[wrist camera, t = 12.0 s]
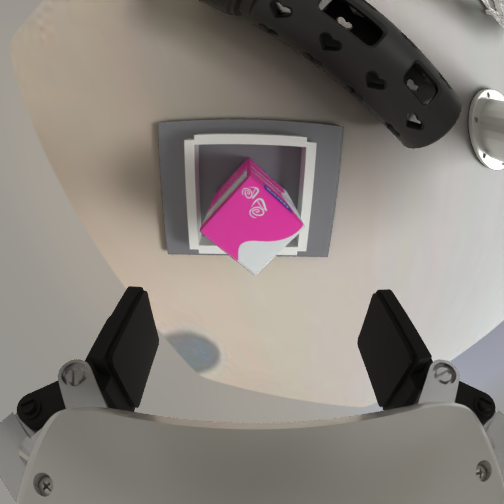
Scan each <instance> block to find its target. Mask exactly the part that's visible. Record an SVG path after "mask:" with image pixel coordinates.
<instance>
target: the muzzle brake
mask: <svg viewBox="0 0 504 504" xmlns="http://www.w3.org/2000/svg"><path fill="white" fill-rule="evenodd" d="M199 1H201V2H204V3H206V4H208V5H210V6H213V7H215V8H217V9H219V10H221V11H223V12H225V13H227V14H230V15H234V14H235V15H241V14H245V15H247V16H249V19H250V22H251V23H252V24H254V25H256V26H257V27H259V28H261V29H263V30H264V31H266V32H268V33H269V34H271V35H273V36H274V37H276V38H277V39H279V40H281V41H282V42H284V43H285V44H287V45H288V46H290V47H291V48H293V49H294V50H296V51H297V52H299V53H300V54H302V55H303V56H304V57H306V58H307V59H309V60H310V61H311V62H313V63H314V64H315V65H317V66H318V67H319V68H321V69H322V70H323V71H325V72H326V73H327V74H328V75H330V76H331V77H332V78H333V79H335V80H336V81H337V82H338V83H340V84H341V85H342V86H343V87H344V88H346V89H347V90H348V91H349V92H350V93H351V94H352V95H354V96H355V97H356V98H357V99H358V100H359V101H360V102H361V103H363V104H364V105H365V106H366V107H367V108H368V109H369V110H370V111H371V112H372V113H373V114H374V115H375V116H376V117H377V118H378V119H379V120H380V121H381V122H382V123H383V124H384V125H385V126H386V127H387V128H388V129H389V130H390V131H391V132H392V133H393V134H394V135H395V136H396V137H397V138H398V139H399V140H400V141H401V143H402V144H403V145H404V146H406V147H408V148H421V147H425V146H428V145H430V144H432V143H434V142H436V141H437V140H439V139H440V138H442V137H443V136H444V135H446V134H447V133H448V132H449V131H450V130H451V128H452V127H453V126H454V125H455V123H456V121H457V120H458V118H459V115H460V112H461V101H460V99H459V97H458V96H457V95H456V93H455V92H454V91H453V89H452V88H451V87H450V85H449V84H448V83H447V81H446V80H445V79H444V78H443V77H442V75H441V74H440V73H439V71H438V70H437V69H436V68H435V67H434V66H433V64H432V63H431V62H430V61H429V60H428V59H427V58H426V56H425V55H424V54H423V53H422V52H421V51H420V50H419V49H418V48H417V47H416V46H415V45H414V44H413V43H412V42H411V41H410V40H409V39H408V38H407V37H406V36H405V35H404V34H403V33H402V32H401V31H400V30H399V29H398V28H397V27H396V26H395V25H394V24H393V23H392V22H390V21H389V20H388V19H387V18H386V17H385V16H384V15H382V14H381V13H380V12H379V11H378V10H376V9H375V8H374V7H373V6H372V5H370V4H369V3H367V2H366V1H365V0H199ZM338 17H343V18H344V19H345V21H346V22H349V23H351V24H352V27H351V28H345V27H344V26H342V25H341V24H340V23H338ZM408 79H411V80H413V82H414V84H415V85H416V86H418V89H417V90H412V89H410V88H409V87H408V86H407V80H408ZM429 101H430V102H429ZM427 102H429V103H428V104H426V103H427ZM414 114H415V116H416V118H417V120H419V121H421V123H420V124H418V123H415V122H412V121H409V120H410V119H411V117H412V116H413V115H414Z"/></svg>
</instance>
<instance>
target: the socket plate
mask: <svg viewBox="0 0 504 504" xmlns="http://www.w3.org/2000/svg"><path fill="white" fill-rule="evenodd" d="M158 134H159V160H160V177H161V192H162V204H163V215H164V225H165V234H166V243H167V251H168V254H187V255H228V254H227V253H225V252H224V251H223V250H221V249H220V248H219V247H218V246H217V245H215V244H214V243H213V242H212V241H210V240H209V239H208V238H207V237H205V236H204V235H203V234H202V233H201V232H200V228H201V225H202V223H203V221H204V219H205V216H206V214H207V212H208V209H209V207H210V205H211V202H212V200H213V198H214V195H215V193H216V192H217V191H218V189H219V188H220V187H221V186H222V185H223V184H224V183H225V182H226V181H227V179H228V178H229V177H230V176H231V175H232V174H233V173H234V172H235V171H236V170H237V169H238V168H239V167H240V166H241V164H242V163H243V162H244V161H245V160H246V159H247V158H248V157H249V158H251V159H252V160H253V161H254V162H255V163H256V164H257V165H258V166H259V167H260V168H261V169H262V170H263V171H265V172H266V173H267V174H268V175H269V176H270V177H271V178H272V179H273V180H274V181H276V182H277V183H278V184H279V185H280V186H281V187H283V188H284V189H285V190H286V191H287V193H288V195H289V197H290V198H291V200H292V202H293V204H294V206H295V208H296V210H297V212H298V213H299V215H300V217H301V219H302V221H303V223H304V225H305V228H304V229H303V230H302V231H301V232H300V233H299V234H298V235H297V236H296V237H295V238H294V239H293V240H291V241H290V242H289V243H288V244H287V245H286V246H285V247H284V248H283V249H282V250H281V251H280V252H279V253H278V254H277V255H276V256H298V257H328V252H329V246H330V240H331V233H332V227H333V220H334V212H335V205H336V197H337V188H338V179H339V170H340V160H341V149H342V136H343V127H341V126H334V125H325V124H316V123H305V122H293V121H278V120H252V119H215V120H189V121H173V122H161V123H158Z"/></svg>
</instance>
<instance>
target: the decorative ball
mask: <svg viewBox="0 0 504 504" xmlns="http://www.w3.org/2000/svg"><path fill="white" fill-rule="evenodd" d="M481 1H482V2H483V3H484V5H485V6H486V7H487V8H488V9H489V10H487V9H486V13H487V14H488V15H492V16H493V17H494V18H495V20H496V21H497V22H498V23H499V24H500V25H501V26H502V27H503V28H504V12H503V10H502V7H504V0H493V1H494V3H495V8H496V11H497V12H496V11H494V10H493V9H492V8H491V7H490V5H489V3H488V0H485V1H484V0H481Z"/></svg>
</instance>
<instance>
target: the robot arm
mask: <svg viewBox="0 0 504 504" xmlns="http://www.w3.org/2000/svg"><path fill="white" fill-rule="evenodd" d="M469 133H470V139H471V143H472V146H473V149H474V151H475V153H476V155H477V157H478V159H479V160H480V161H481V162H482V163H483V164H484V165H485V166H487V167H488V168H491V169H494V170H499V169H502V168H504V97H503V96H502V95H501V94H500V93H499V92H497V91H495V90H491V89H483V90H481V91H479V92H478V93H477V94H476V95H475V97H474V98H473V101H472V103H471V106H470V111H469ZM158 345H159V338H158V334H157V330H156V326H155V322H154V318H153V314H152V310H151V306H150V302H149V298H148V293H147V291H144V290H143V288H142V287H131V286H130V287H128V288H127V290H126V291H125V293H124V295H123V296H122V298H121V299H120V301H119V303H118V305H117V306H116V308H115V310H114V312H113V313H112V315H111V316H110V317H109V318H108V319H107V321H106V323H105V325H104V326H103V328H102V330H101V332H100V334H99V335H98V338H97V339H96V341H95V343H94V345H93V347H92V348H91V350H90V352H89V354H88V356H87V358H86V360H85V361H83V360H71V361H69V362H67V363H66V364H64V365H63V366H62V368H61V369H60V370H59V374H58V381H56V382H54V383H52V384H50V385H47V386H45V387H43V388H41V389H39V390H36V391H34V392H32V393H29V394H27V395H26V396H24V397H23V398H22V399H21V400H20V401H19V403H18V406H17V413H16V414H14V413H13V412H12V413H11V414H10V415H9V416H8V417H6V418H5V419H4V420H3V421H2V422H0V477H1V479H2V481H3V483H4V484H5V486H6V487H7V489H8V491H9V492H10V494H11V495H12V497H13V498H14V500H15V501H16V504H504V414H503V413H501V412H500V411H497V412H495V404H494V401H493V399H492V398H491V397H490V396H489V395H488V394H486V393H484V392H482V391H479V390H477V389H475V388H473V387H471V386H469V385H467V384H465V383H463V382H461V381H459V372H458V370H457V368H456V367H455V366H454V365H453V364H452V363H450V362H449V361H446V360H436V361H434V362H433V361H432V359H431V357H432V356H431V354H430V353H429V351H428V349H427V347H426V345H425V344H424V342H423V340H422V339H421V337H420V335H419V333H418V332H417V330H416V328H415V327H414V325H413V324H412V322H411V320H410V319H409V317H408V315H407V314H406V312H405V311H404V309H403V307H402V306H401V304H400V303H399V301H398V300H397V298H396V297H395V295H394V294H393V292H392V291H391V290H389V289H388V290H377V292H376V293H374V294H373V295H372V298H371V302H370V305H369V308H368V311H367V314H366V317H365V320H364V323H363V326H362V329H361V332H360V335H359V337H358V348H359V350H360V353H361V356H362V359H363V361H364V364H365V367H366V370H367V372H368V375H369V378H370V381H371V384H372V387H373V390H374V393H375V396H376V399H377V402H378V404H379V406H380V407H383V410H384V411H380V412H374V413H368V414H362V415H356V416H349V417H342V418H334V419H324V420H314V421H302V422H301V421H300V422H281V423H232V422H212V421H198V420H188V419H179V418H171V417H163V416H156V415H149V414H142V413H136V412H134V409H135V407H137V408H138V407H139V405H140V402H141V398H142V395H143V392H144V388H145V385H146V382H147V379H148V375H149V373H150V369H151V366H152V363H153V360H154V357H155V354H156V351H157V348H158Z"/></svg>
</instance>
